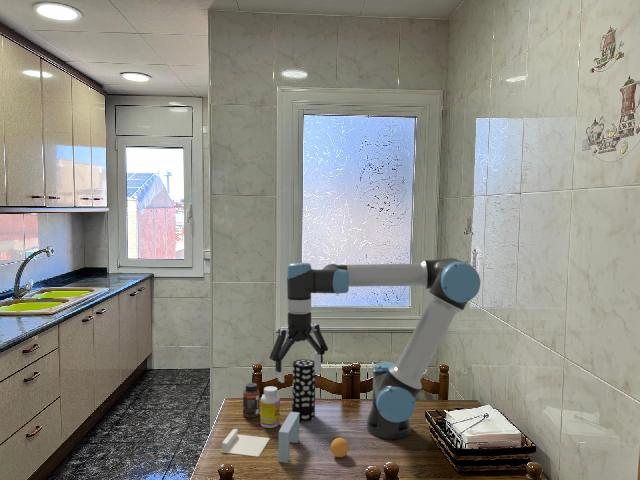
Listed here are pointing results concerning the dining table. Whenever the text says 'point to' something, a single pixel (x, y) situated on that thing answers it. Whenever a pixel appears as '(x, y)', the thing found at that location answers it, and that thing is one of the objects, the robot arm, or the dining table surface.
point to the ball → (339, 447)
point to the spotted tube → (304, 389)
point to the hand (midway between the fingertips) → (299, 377)
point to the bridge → (288, 436)
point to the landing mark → (247, 445)
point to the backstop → (229, 439)
